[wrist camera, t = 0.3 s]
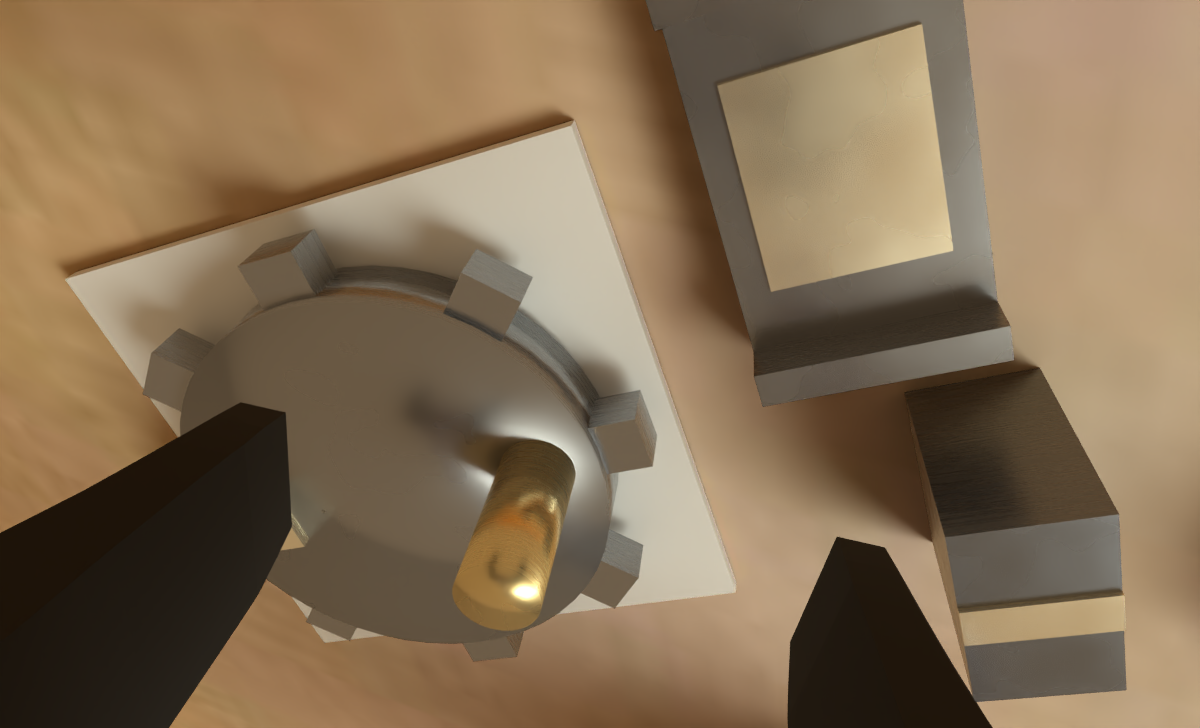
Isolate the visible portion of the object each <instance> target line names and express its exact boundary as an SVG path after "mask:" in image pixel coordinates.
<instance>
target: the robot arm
mask: <svg viewBox="0 0 1200 728" xmlns="http://www.w3.org/2000/svg"><path fill="white" fill-rule="evenodd" d="M291 528H292V517H291V499H290V480H289V462H288V443H287V425H286V412H282V411H278V410H273V409H269V408H264V407H260V406H255V405H251V404H247V403H242V402H240V403H238V404H236V405H235V406H233V407H231V408H229V409H227V410H225V411H223V412H222V413H220V414H218V415H216V416H214V417H213V418H211V419H209V420H207V421H206V422H204V423H202V424H201V425H199V426H197V427H195V428H194V429H192V430H190V431H188V432H187V433H185V434H183V435H181V436H180V437H178V438H176V439H175V440H173V441H171V442H169V443H168V444H166V445H164V446H162V447H161V448H159V449H157V450H155V451H154V452H152V453H150V454H148V455H147V456H145V457H143V458H141V459H140V460H138V461H136V462H134V463H132V464H131V465H129V466H127V467H125V468H123V469H122V470H120V471H118V472H116V473H114V474H113V475H111V476H109V477H107V478H106V479H104V480H102V481H100V482H98V483H97V484H95V485H93V486H91V487H89V488H88V489H86V490H84V491H82V492H80V493H78V494H76V495H74V496H72V497H70V498H68V499H66V500H64V501H62V502H60V503H58V504H56V505H54V506H52V507H51V508H49V509H47V510H45V511H43V512H41V513H39V514H37V515H35V516H33V517H31V518H29V519H27V520H25V521H23V522H21V523H19V524H17V525H15V526H13V527H11V528H9V529H7V530H5V531H3V532H1V533H0V728H169V727H170V725H171V724H172V722H173V721H174V720H175V718H176V717H177V715H178V714H179V712H180V711H181V709H182V708H183V706H184V705H185V703H186V702H187V700H188V699H189V697H190V696H191V694H192V693H193V691H194V690H195V688H196V687H197V685H198V684H199V682H200V681H201V680H202V678H203V677H204V675H205V674H206V672H207V671H208V669H209V668H210V666H211V665H212V663H213V662H214V660H215V659H216V657H217V656H218V654H219V653H220V651H221V650H222V648H223V647H224V645H225V644H226V642H227V641H228V639H229V638H230V636H231V635H232V633H233V632H234V630H235V629H236V627H237V626H238V624H239V623H240V621H241V620H242V618H243V617H244V615H245V614H246V612H247V611H248V609H249V608H250V606H251V605H252V603H253V602H254V600H255V599H256V597H257V595H258V594H259V592H260V590H261V588H262V586H263V584H264V582H265V580H266V578H267V576H268V574H269V572H270V571H271V569H272V567H273V565H274V563H275V561H276V559H277V557H278V555H279V552H280V550H281V548H282V546H283V544H284V542H285V540H286V538H287V536H288V534H289V532H290V530H291ZM788 728H992V726H991V725H990V723H989V722H988V720H987V719H986V717H985V715H984V714H983V712H982V711H981V709H980V707H979V706H978V704H977V703H976V701H975V699H974V698H973V696H972V695H971V693H970V691H969V690H968V688H967V687H966V685H965V683H964V682H963V680H962V679H961V677H960V675H959V674H958V672H957V671H956V669H955V667H954V666H953V664H952V662H951V661H950V659H949V657H948V656H947V654H946V652H945V651H944V649H943V647H942V646H941V644H940V642H939V640H938V639H937V637H936V635H935V634H934V632H933V630H932V628H931V627H930V625H929V623H928V622H927V620H926V618H925V616H924V615H923V613H922V611H921V609H920V608H919V606H918V604H917V602H916V601H915V599H914V597H913V595H912V594H911V592H910V590H909V588H908V587H907V585H906V583H905V581H904V580H903V578H902V576H901V574H900V573H899V571H898V569H897V567H896V566H895V564H894V562H893V560H892V559H891V557H890V555H889V554H888V552H887V550H886V549H885V548H884V547H880V546H876V545H871V544H867V543H862V542H858V541H853V540H849V539H845V538H840V537H837V538H836V540H835V542H834V544H833V547H832V549H831V551H830V553H829V556H828V558H827V560H826V562H825V565H824V567H823V569H822V571H821V574H820V576H819V578H818V580H817V583H816V585H815V587H814V589H813V592H812V594H811V596H810V598H809V601H808V603H807V605H806V607H805V610H804V612H803V614H802V617H801V619H800V621H799V623H798V626H797V628H796V630H795V632H794V635H793V637H792V639H791V641H790V660H789V682H788Z"/></svg>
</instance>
